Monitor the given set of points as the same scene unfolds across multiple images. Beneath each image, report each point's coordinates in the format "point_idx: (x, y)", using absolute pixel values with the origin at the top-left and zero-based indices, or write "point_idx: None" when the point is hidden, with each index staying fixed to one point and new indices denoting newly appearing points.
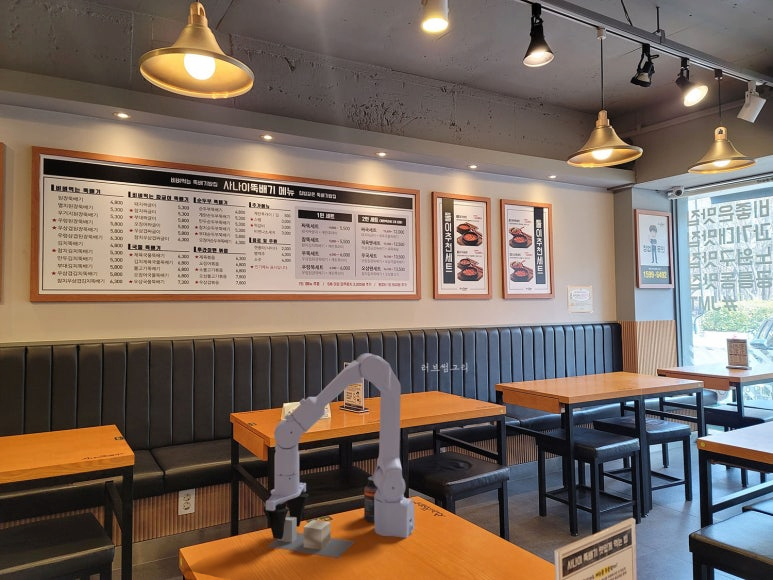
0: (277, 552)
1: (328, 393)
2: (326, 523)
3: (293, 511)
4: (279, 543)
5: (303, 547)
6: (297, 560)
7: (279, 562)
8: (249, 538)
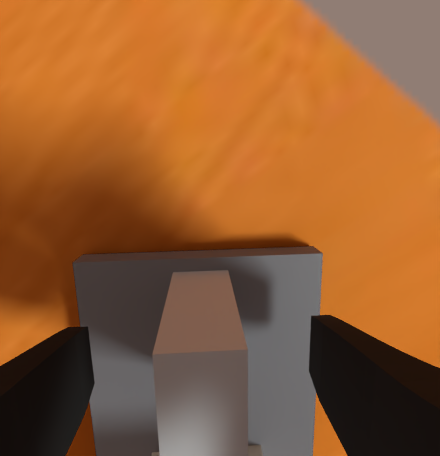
0: None
1: None
2: None
3: (369, 412)
4: (138, 312)
5: (148, 454)
6: None
7: None
8: (195, 26)
